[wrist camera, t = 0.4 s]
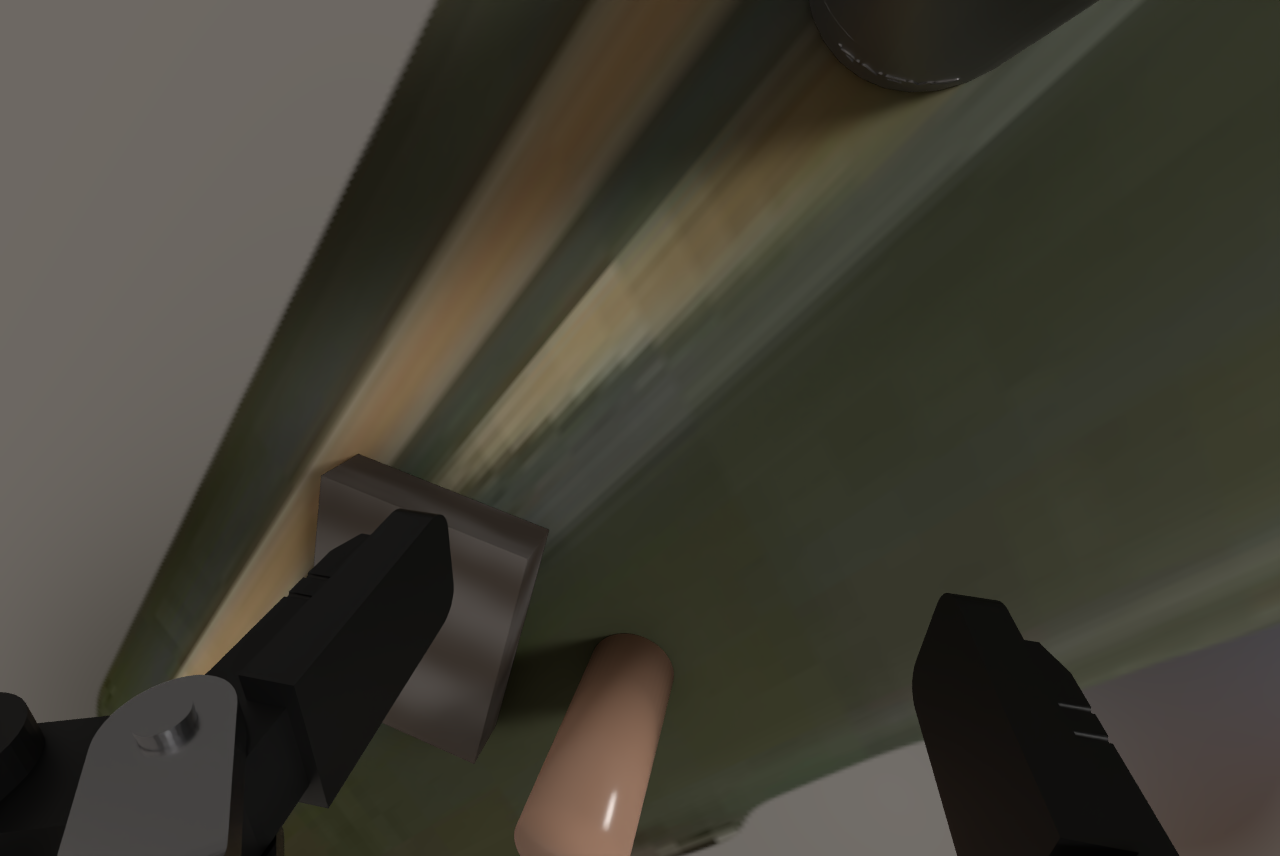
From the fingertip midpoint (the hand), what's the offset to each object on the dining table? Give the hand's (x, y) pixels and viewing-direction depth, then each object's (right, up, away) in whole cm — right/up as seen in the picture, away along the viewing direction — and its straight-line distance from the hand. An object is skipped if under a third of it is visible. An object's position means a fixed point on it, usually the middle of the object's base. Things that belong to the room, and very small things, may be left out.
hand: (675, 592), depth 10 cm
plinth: (-14, -8, +27) cm, 32 cm away
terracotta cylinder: (-1, -12, +26) cm, 28 cm away
